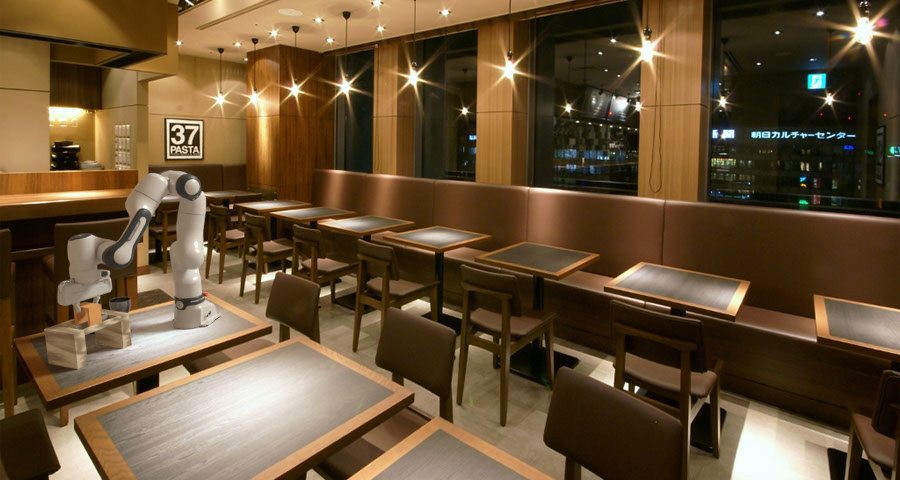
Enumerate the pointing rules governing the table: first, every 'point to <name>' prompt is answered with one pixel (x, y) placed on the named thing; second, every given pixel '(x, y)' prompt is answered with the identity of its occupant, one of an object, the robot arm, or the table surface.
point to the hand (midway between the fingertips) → (87, 309)
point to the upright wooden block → (88, 314)
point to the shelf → (70, 342)
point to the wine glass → (120, 304)
